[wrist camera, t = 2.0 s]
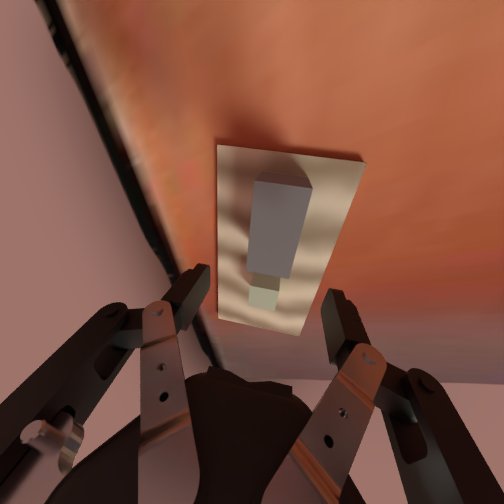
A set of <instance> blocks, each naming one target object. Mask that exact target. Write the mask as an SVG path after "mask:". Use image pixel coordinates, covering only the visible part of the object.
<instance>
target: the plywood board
mask: <svg viewBox="0 0 504 504" xmlns="http://www.w3.org/2000/svg"><path fill="white" fill-rule="evenodd" d="M366 165H367V163H366V162H361V161H353V160H344V159H336V158H328V157H320V156H311V155H303V154H295V153H286V152H278V151H270V150H262V149H253V148H245V147H237V146H228V145H217V210H218V318H219V319H224V320H228V321H233V322H237V323H242V324H246V325H251V326H255V327H260V328H264V329H269V330H273V331H278V332H282V333H287V334H291V335H296V336H299V335H300V332H301V330H302V327H303V325H304V322H305V320H306V317H307V315H308V312H309V310H310V307H311V304H312V302H313V299H314V297H315V294H316V292H317V289H318V287H319V284H320V282H321V279H322V276H323V274H324V271H325V269H326V266H327V264H328V261H329V259H330V256H331V254H332V251H333V249H334V246H335V243H336V241H337V238H338V236H339V233H340V231H341V228H342V226H343V223H344V221H345V218H346V215H347V213H348V210H349V208H350V205H351V203H352V200H353V198H354V195H355V193H356V190H357V187H358V185H359V182H360V180H361V177H362V175H363V172H364V170H365V167H366ZM263 171H271V172H278V173H286V174H293V175H301V176H308V178H309V180H310V183H311V185H312V187H313V191H312V194H311V198H310V202H309V206H308V209H307V213H306V217H305V221H304V224H303V228H302V232H301V236H300V239H299V243H298V247H297V250H296V254H295V258H294V262H293V265H292V269H291V273H290V277H289V279H285V278H280V289H279V295H278V299H277V303H276V307H275V311H271V310H266V309H261V308H257V307H252V306H248V299H249V291H250V284H251V281H252V277H253V274H254V272H249V271H246V263H247V253H248V242H249V232H250V222H251V212H252V201H253V191H254V181H255V179H256V178H257V177H258V176H259V175H260V174H261V173H262V172H263Z"/></svg>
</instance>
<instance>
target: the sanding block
mask: <svg viewBox="0 0 504 504" xmlns="http://www.w3.org/2000/svg"><path fill="white" fill-rule="evenodd" d="M312 191H313V187H312V185H311V183H310V180H309V178H308V176H301V175H293V174H286V173H278V172H271V171H263V172H262V173H261V174H260V175H259V176H258V177H257V178H256V179H255V181H254V191H253V201H252V212H251V222H250V232H249V242H248V253H247V263H246V271H249V272H254V273H259V274H265V275H270V276H275V277H280V278H285V279H289V277H290V273H291V269H292V265H293V262H294V258H295V254H296V250H297V247H298V243H299V239H300V236H301V232H302V228H303V224H304V221H305V217H306V213H307V209H308V206H309V202H310V198H311V194H312Z"/></svg>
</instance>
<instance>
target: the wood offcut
mask: <svg viewBox="0 0 504 504" xmlns="http://www.w3.org/2000/svg"><path fill="white" fill-rule="evenodd" d="M279 289H280V277H275V276H270V275H265V274H259V273H254V274H253V277H252V281H251V284H250V291H249V299H248V306H252V307H257V308H261V309H266V310H271V311H275V307H276V303H277V299H278V295H279Z"/></svg>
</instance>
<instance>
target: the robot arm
mask: <svg viewBox="0 0 504 504" xmlns="http://www.w3.org/2000/svg"><path fill="white" fill-rule="evenodd" d="M209 288H210V266H209V265H206V264H200V263H198V264H197V265H196V266H195V268H194V269H193V270H192V269H188V270H187V271H185V272H184V273H182V274H181V276H180V277H179V278H178V279H177V281H176V282H175V284H173V285H172V287H171V288H170V289H169V290H168V292H167V293H166V294H165V295H164V296H163V298H162V299H161V300H159V301H155V302H152V303H150V304H149V305H147V306H146V307H145V308H141V309H128V308H127V306H126V304H124V303H121V302H116V303H111V304H108V305H106V306H105V307H103V308H101V309H100V310H99V311H98V312H97V313H95V314H94V315H93V316H92V317H91V318H90V319H89V320H88V321H87V322H86V323H85V324H84V325H83V326H82V327H81V328H80V329H79V330H78V331H77V332H76V333H75V334H74V335H72V336H71V337H70V338H69V339H68V340H67V341H66V342H65V343H64V344H63V345H62V346H61V347H60V348H59V349H58V350H57V351H56V352H55V353H53V354H52V356H51V357H49V358H48V359H47V360H46V361H45V362H44V363H43V364H42V365H41V366H40V367H39V368H38V369H37V370H36V371H35V372H34V373H33V374H32V375H30V376H29V377H28V378H27V379H26V380H25V381H24V382H23V383H22V384H21V385H20V386H19V387H18V388H17V389H16V390H15V391H14V392H13V393H11V394H10V395H9V396H8V398H6V399H5V400H4V401H3V402H2V403H1V404H0V504H366V503H365V501H364V500H363V498H362V496H361V494H360V493H359V491H358V489H357V487H356V486H355V484H354V482H353V481H352V479H351V477H350V475H349V474H348V473H349V471H350V468H351V466H352V463H353V461H354V458H355V456H356V453H357V451H358V448H359V445H360V443H361V440H362V438H363V435H364V433H365V431H366V428H367V425H368V423H369V420H370V418H371V415H372V413H373V410H374V407H375V406H376V407H378V408H380V409H381V412H382V415H383V418H384V422H385V426H386V429H387V432H388V436H389V439H390V442H391V446H392V449H393V453H394V456H395V460H396V463H397V467H398V470H399V473H400V477H401V481H402V484H403V487H404V491H405V494H406V498H407V501H408V504H504V493H503V491H502V489H501V487H500V485H499V484H498V482H497V480H496V478H495V477H494V475H493V473H492V472H491V470H490V468H489V466H488V465H487V463H486V461H485V459H484V458H483V456H482V454H481V452H480V451H479V449H478V447H477V446H476V444H475V442H474V440H473V439H472V437H471V435H470V433H469V431H468V430H467V428H466V426H465V424H464V423H463V421H462V419H461V418H460V416H459V414H458V412H457V410H456V409H455V407H454V405H453V404H452V402H451V400H450V398H449V397H448V395H447V393H446V392H445V390H444V388H443V387H442V385H441V384H440V383H439V382H438V381H437V380H436V379H435V378H434V377H433V376H431V375H430V374H428V373H427V372H425V371H423V370H420V369H417V368H412V369H410V370H409V371H407V372H406V371H404V370H402V369H399V368H397V367H395V366H393V365H391V364H390V363H388V362H386V360H385V358H384V357H383V355H382V354H381V353H380V352H379V351H378V350H377V349H376V348H374V347H373V346H371V343H370V341H369V338H368V336H367V333H366V331H365V328H364V326H363V323H362V322H361V318H360V316H359V313H358V311H357V308H356V306H355V305H354V304H353V303H352V302H351V301H350V300H346V298H345V295H344V292H343V291H342V290H337V289H332V288H329V289H328V292H327V294H326V296H325V299H324V301H323V303H322V306H321V317H322V323H323V328H324V334H325V339H326V345H327V351H328V356H329V362H330V364H331V365H335V366H337V368H338V373H337V374H336V376H335V377H334V379H333V380H332V382H331V383H330V385H329V387H328V388H327V390H326V391H325V393H324V395H323V396H322V398H321V399H320V401H319V402H318V404H317V405H316V407H315V408H314V410H313V411H311V410H310V409H309V407H308V406H307V405H306V404H305V403H304V402H303V401H302V400H301V399H299V398H298V397H297V396H295V395H293V394H292V386H288V385H284V384H280V383H276V382H272V381H266V382H247V381H245V380H244V379H242V378H240V377H239V376H237V375H235V374H233V373H232V372H230V371H227V370H223V369H219V368H215V367H211V366H209V368H208V371H207V372H205V373H200V374H196V375H193V376H191V377H189V378H187V379H185V376H184V371H183V366H182V360H181V355H180V349H179V344H178V339H177V334H178V332H179V331H180V329H181V330H185V331H186V330H187V329H188V327H189V325H190V323H191V321H192V320H193V318H194V316H195V314H196V312H197V310H198V309H199V307H200V305H201V303H202V301H203V300H204V298H205V296H206V294H207V292H208V290H209ZM135 348H140V395H141V396H140V405H141V406H140V411H141V412H140V413H141V414H140V415H139V416H137V417H136V418H135V419H134V420H132V421H131V422H130V423H128V424H127V425H126V426H125V427H123V428H122V429H121V430H120V431H118V432H117V433H116V434H114V435H113V436H112V437H111V438H109V439H108V440H107V441H106V442H104V443H103V444H102V445H101V446H99V447H98V448H97V449H95V450H94V451H93V452H92V453H90V454H89V455H88V456H87V457H85V458H84V459H83V460H82V461H80V462H79V463H78V464H77V465H76V466H74V467H73V468H72V465H73V461H74V458H75V456H76V454H77V452H78V449H79V448H80V446H81V444H82V441H83V438H84V428H83V424H84V423H85V421H86V420H87V418H88V417H89V415H90V414H91V413H92V411H93V409H94V408H95V407H96V405H97V404H98V402H99V401H100V399H101V398H102V396H103V395H104V393H105V392H106V391H107V389H108V388H109V386H110V385H111V383H112V382H113V380H114V379H115V377H116V376H117V374H118V373H119V371H120V370H121V369H122V367H123V366H124V364H125V363H126V361H127V360H128V358H129V357H130V355H131V354H132V352H133V351H134V350H135Z"/></svg>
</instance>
